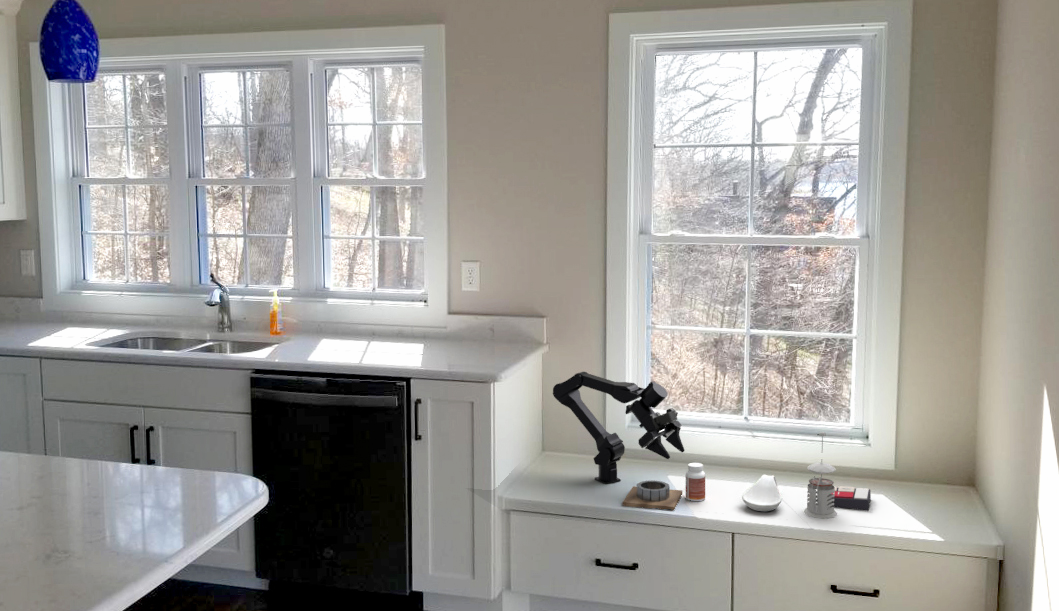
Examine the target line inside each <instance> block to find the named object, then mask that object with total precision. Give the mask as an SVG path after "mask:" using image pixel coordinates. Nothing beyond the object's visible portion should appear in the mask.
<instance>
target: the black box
mask: <svg viewBox="0 0 1059 611" xmlns="http://www.w3.org/2000/svg"><path fill="white" fill-rule="evenodd" d="M833 486H834V487H835V493H831V494H832V495H834V497H832V499H834V501H832V503H834V506H833V505H832V507H834V508H839V509H840V508H841V509H853V510H858V511H865V512H866V511H867V512H870V505H871V500H872V498H871V496H872V495H871V489H870V488H867V487H866V488H865V487H855V486H841V485H840V486H835V485H833ZM816 499H818V498H816Z"/></svg>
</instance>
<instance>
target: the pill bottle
mask: <svg viewBox="0 0 1059 611" xmlns="http://www.w3.org/2000/svg"><path fill="white" fill-rule="evenodd" d="M687 469H688V470H687V471H685V499H686V500H687V499H688V500H687V501H690V500H691V502H702V501H704V500H706V473H705V471H704V464H702V463H701V462H691V463H688V465H687Z"/></svg>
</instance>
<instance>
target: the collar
mask: <svg viewBox="0 0 1059 611" xmlns="http://www.w3.org/2000/svg"><path fill="white" fill-rule="evenodd" d="M636 487H637V498H639V499H641V500H644V501H651V502H656V501H664V500H667V499H668V498H669V492H670V490H671V489H670V484H669V483H668V482H665V481H661V480H655V479H654V480H643V481H640V482H638V483H636Z"/></svg>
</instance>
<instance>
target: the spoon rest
mask: <svg viewBox="0 0 1059 611" xmlns="http://www.w3.org/2000/svg"><path fill="white" fill-rule="evenodd" d="M782 497H783V496H782V494H781V492H780V489H779V488H778V482H777V479H776V477H775V475H767V474H762V475H761V476H760V477H759V479H757V481H756V482H755V483H754V484H752V485H751V486H750V487H749V488H748V489H746V490H745V491H744V492H743V493H742V495H741V498H742V501H743V503H744V504H745V506H747V507H748V508H749V509H752V510H753V511H758V512H763V513H764V512H771V511H773V510H775V509H777V508H778V507H779V506H780V505H781V503H782V501H783V500H782V499H783V498H782Z"/></svg>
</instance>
